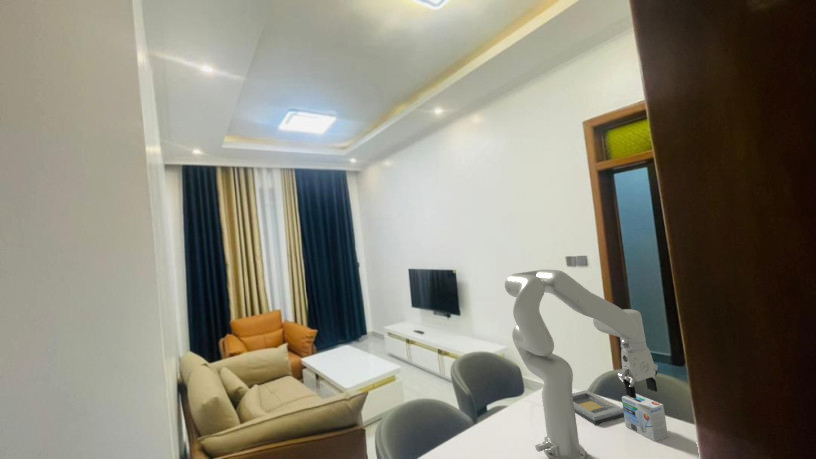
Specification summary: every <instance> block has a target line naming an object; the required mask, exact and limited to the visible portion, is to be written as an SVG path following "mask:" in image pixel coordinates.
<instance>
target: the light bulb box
mask: <svg viewBox="0 0 816 459" xmlns="http://www.w3.org/2000/svg"><path fill="white" fill-rule="evenodd" d="M621 402H622V408H623V411H624V417H623V418H624V425H625V427H626V428H628V429H630V430H632V431H634V432H636V433H637V434H639V435H641V436H643V437H645V438H647V439H649V440H650V441H652V442H657V441H660V440H663V439H666V438H668V437H669V433H668V428H667V421H666V413H665V406H664V404H663V403H661V402H658V401H655V400H653V399H651V398H648V397H645V396H642V395H640V394H638V393H636V398H635V399H634V398H632V397H630V396H628V395H627V394H626V395H623V396H622V397H621Z"/></svg>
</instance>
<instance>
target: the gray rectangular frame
mask: <svg viewBox="0 0 816 459" xmlns="http://www.w3.org/2000/svg"><path fill="white" fill-rule="evenodd" d="M572 394H573V403H574V409H575V415H578V416H580V417H582V418H583V419H585V420H586V421H588V422H590V423H591V424H593V425H595V426H597V425H600V424H604V423H606V422H607V423H608V422H610V421H615V420H618V419H620V418H624V411H623V407H621V406H619V405H616V404H615V403H613V402H611V401H609V400H607V399H605V398H604V397H603V398H602V397H601V396H600V395H597V394H595V393H593V392H591V391H589V390H587V389H585V390H582V391H578V392H574V393H573V392H572Z"/></svg>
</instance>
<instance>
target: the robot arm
mask: <svg viewBox="0 0 816 459" xmlns="http://www.w3.org/2000/svg"><path fill="white" fill-rule="evenodd" d="M504 289H505V292H506V293H507V294H508V295H510V296H511V297H514V298H515V302H514V305H513V310H512V312H513V318H514V319H513V320H514V321H515V323H516V324H515V325H514V327H513V329H512V333H511V335H512V336H511V337H512V341H513V343H514V346H515V348H516V350H517V352H518V354H519V356H520V357H521V360H522V362H523V364H524V365H525V367H526V369H528V371H530V373H531V374H533V375H534V376H536V377H538V378H540V379H541V380H542V382H543V388H542V392H541V399H542V407H543V413H544V422H545V428H546V436H545V437H544V441H542V443H538V444H535V445H534V447H535V450H536V451H537V452H539V453H540V452H544V454H545V455H546V456H547V457H549V459H586V458H587V454H586V450H585V448H584V447H583V446H582V445H581V444H580V442H579V432H578V424H577V419H576V413H575V409H574V403H573V381H574V379H573V378H574V373H573V369H572V366H571V365H570V364H569V362H568V361H567V360H565V359H564V358H563V357H561V356H560V355H557V354H555V353H553V352H554V350H555V342H554V339H553V337H552V335H551V333H550V331H549V329H548V327H547V325H546V322H545V321H544V319H543V317H542V315H541V311H540V306H541V305H540V304H541V302H542V300H543V298H544V294H545V293H549V294H551V295H553V296H555V297H556V298H558V299H559V300H560V301H561V302H563V303H564V304H565V305H566V306H568V307H569V308H571V309H572V310H573V311H575V312H577V313H579V314H581V315H583V316H585V317H588V318H592V319H593V320H592V321H593V326H594V328H595V329H596V330H597V331H599V332H601V333H604V334H607V335H610V336H611V335H612V336H615V337H618V338H619V340H620V348H621V349H620V350H621V352H620V353H621V354H620V355H621V358H620V359H621V367H622V368H621V370H620V372H619V373H618V374H617V377H618V379H619V380H620V382H621V383H622V384H623V385H624V386H625V391H626V392H625V393H626V395H628V396H630V397H632V398H634V399H635V398H636V394H637V393H636V388H635V386H634V384H635V382H641V381H644V380H645V383H646V387H647V389H648V390H650V391H653V392H655V393H656V392H658V387H657V381H656V380H657V378H658V377H657V375H658V367H659V365H658V364H657V363H654V359H653V356H652V353H651V350H650V349H649V347H648V346H647V341H646V336H645V334H646V333H645V331H644V330H645V329H644V324H643V318H642V313H641V312H640V311H639V310H636V309H630V308H627V309H626V308H625V309H622V308H621V307H619V306H617V305H616V304H614V303H612V302H611V301H608V300H607V299H604V298H602V297H601V296H599V295H597V294H594V293H593V292H591V291H590V290H588V289H587V288H586V287H584V286H583V285H581V283H579V282H578V281H577V280H575V279H574V278H573V277H571V275H569V274H568V273H566V272H564V271H562V270H558V269H539V270H532V271H523V272H517V273H512V274H510V275H509V276H508V277H507V278H506V279H505V282H504Z"/></svg>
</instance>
